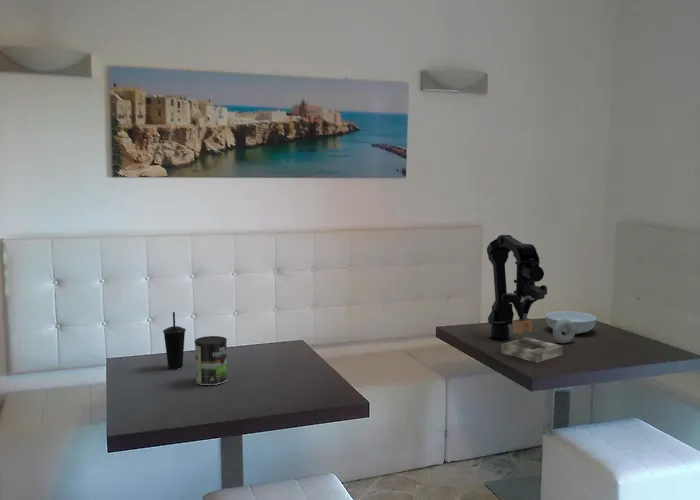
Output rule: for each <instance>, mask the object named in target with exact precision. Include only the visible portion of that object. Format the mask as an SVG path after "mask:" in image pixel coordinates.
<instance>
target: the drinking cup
mask: <svg viewBox="0 0 700 500" xmlns="http://www.w3.org/2000/svg"><path fill="white" fill-rule="evenodd" d="M186 330H187V329H186V328H184V327H183V326H182V327H181V326H178V325H176V312H175V311H173V312H172V326H169V327H166V328H164V329H163V330H162V333H163V337H164V346H165V350H166V351H165V353H166V360H167V361H166V362H167V367H168V368H170V369H178V368H181V367H182V368H183V364H184V354H185V352H184V350H185V348H184V347H185V334H186ZM170 369H169V370H170Z"/></svg>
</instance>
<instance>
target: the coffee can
mask: <svg viewBox="0 0 700 500" xmlns="http://www.w3.org/2000/svg"><path fill="white" fill-rule="evenodd" d="M227 340H228V338H226V337H224V336H219V335H209V336H208V335H207V336H202V337H198V338H195V339H194V344H195V346H194V349H195V350H194V351H195V354H194V355H195V383H196V384H197V383H198V384H200V385H199V386H201V385H209V386H208V387H211V386H210V385H217V384H221V383H224V382H226V381H227V382H228V358H227V357H228V356H227V355H228V354H227V349H228V348H227V347H228V346H227ZM227 382H226V383H227ZM198 384H197V385H198ZM224 384H225V383H224ZM221 385H222V384H221ZM217 386H218V385H217Z"/></svg>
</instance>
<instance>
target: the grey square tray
mask: <svg viewBox="0 0 700 500" xmlns="http://www.w3.org/2000/svg"><path fill="white" fill-rule="evenodd" d="M563 348H564V347H563V345H560V344H556V343H553V342H548V341H544V340H539V339H535V338H532V337H527V336H526V337H522V338H518V339H515V340H512V341H509V342H505V343H501V353H500V354H503V355H506V356H507V355H508V356H511V357H514V358H519V359H521V360H525V361H529V362H533V363H537V364H538V363H541V362H544V361H547V360H550V359H555V358H557V357H559V356H563Z"/></svg>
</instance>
